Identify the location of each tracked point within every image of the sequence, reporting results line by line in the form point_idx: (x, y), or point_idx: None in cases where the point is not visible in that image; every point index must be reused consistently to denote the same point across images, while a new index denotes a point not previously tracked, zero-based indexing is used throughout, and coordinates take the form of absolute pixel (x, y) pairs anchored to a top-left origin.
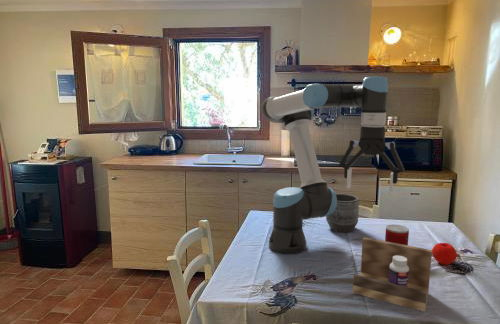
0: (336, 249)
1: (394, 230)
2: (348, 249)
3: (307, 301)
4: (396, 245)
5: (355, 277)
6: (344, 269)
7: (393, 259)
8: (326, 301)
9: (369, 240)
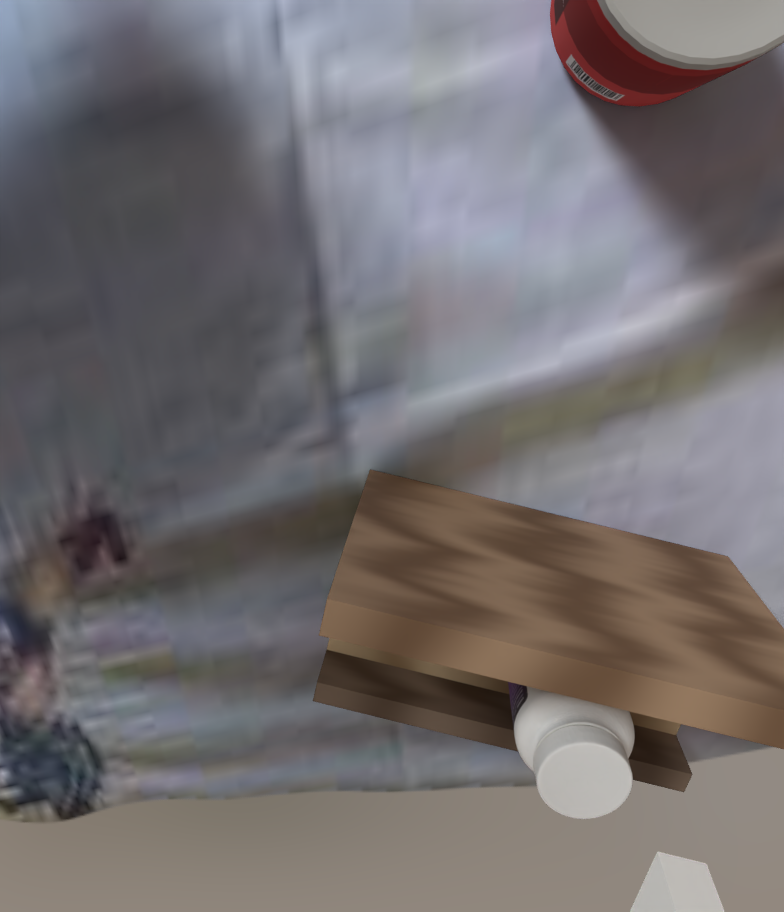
0: (159, 50)
1: (674, 8)
2: (252, 13)
3: (144, 753)
4: (587, 698)
5: (325, 699)
6: (262, 396)
7: (539, 792)
8: (222, 736)
9: (376, 648)
